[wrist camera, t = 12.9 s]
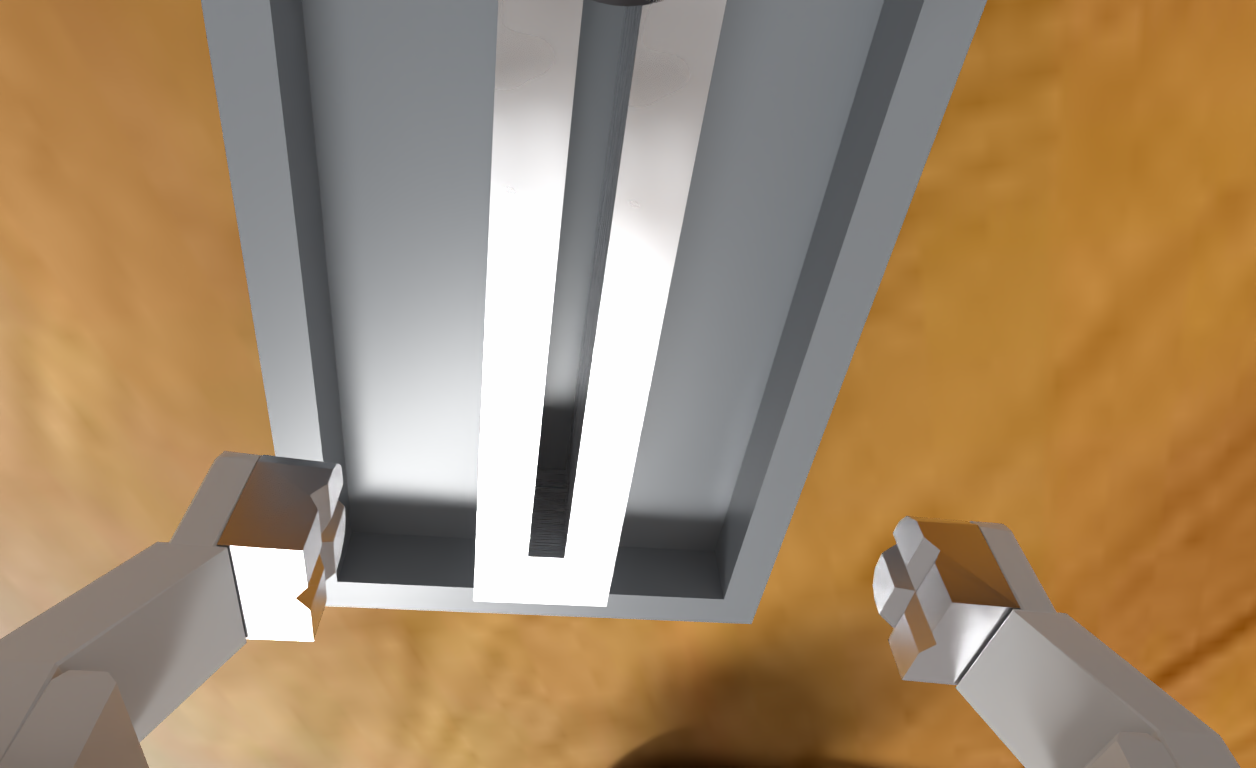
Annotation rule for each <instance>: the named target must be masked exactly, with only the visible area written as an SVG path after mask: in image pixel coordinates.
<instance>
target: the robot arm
mask: <svg viewBox="0 0 1256 768" xmlns="http://www.w3.org/2000/svg"><path fill="white" fill-rule="evenodd" d="M342 486H343V476H342V467H341V466H340V465H339V464H338V463H329V462H321V461H312V460H304V459H295V458H286V457H278V456H269V455H263V456H262V455H254V454H246V453H237V452H229V451H224V452H223V453H222V454H221V455H219V456H218V457H217V458H216V459H215V460H214V462H213V464H212V466H211V468H210V469H209V471H208V473H207V475H206V477H205V478H204V480H203V482H202V484H201V486H200V487H199V489H198V491H197V493H196V495H195V497H194V498H193V500H192V502H191V504H190V506H189V507H188V509H187V511H186V513H185V515H184V517H183V518H182V520H181V522H180V524H179V526H178V527H177V529H176V531H175V533H174V535H173V536H172V538H171V540H170V542H169V543H168V542H156V543H154V544H153V545H151V546H150V547H148V548H146V549H145V550H143V551H142V552H140V553H138V554H137V555H135V556H134V557H132V558H130V559H129V560H127V561H125V562H124V563H122V564H121V565H119V566H117V567H116V568H114V569H113V570H111V571H109V572H108V573H106V574H105V575H103V576H101V577H100V578H98V579H96V580H95V581H93V582H92V583H90V584H88V585H87V586H85V587H84V588H82V589H80V590H79V591H77V592H76V593H74V594H72V595H71V596H69V597H68V598H66V599H64V600H63V601H61V602H59V603H58V604H56V605H55V606H53V607H51V608H50V609H48V610H47V611H45V612H43V613H42V614H40V615H39V616H37V617H35V618H34V619H32V620H30V621H29V622H27V623H26V624H24V625H22V626H21V627H19V628H18V629H16V630H14V631H13V632H11V633H10V634H8V635H6V636H5V637H3V638H1V639H0V768H149V767H148V764H147V761H146V759H145V756H144V753H143V751H142V748H141V746H140V742H141V741H142V740H143V739H144V738H145V737H146V736H147V735H148V734H149V733H150V732H151V731H152V730H153V729H155V728H156V727H157V726H158V725H159V724H160V723H161V722H162V721H163V720H164V719H165V718H166V717H167V716H168V715H170V714H171V713H172V712H173V711H174V710H175V709H176V708H177V707H178V706H179V705H180V704H181V703H182V702H183V701H185V700H186V699H187V698H188V697H189V696H190V695H191V694H192V693H193V692H194V691H195V690H196V689H197V688H198V687H200V686H201V685H202V684H203V683H204V682H205V681H206V680H207V679H208V678H209V677H210V676H211V675H212V674H213V673H215V672H216V671H217V670H218V669H219V668H220V667H221V666H222V665H223V664H224V663H225V662H226V661H227V660H228V659H230V658H231V657H232V656H233V655H234V654H235V653H236V652H237V651H238V650H239V649H240V648H241V647H242V646H243V645H245V644H246V639H265V640H291V641H314V638H315V635H316V632H317V629H318V626H319V623H320V620H321V617H322V614H323V611H324V608H325V605H326V602H327V593H326V580H327V579H328V578H330V577H331V576H332V575H334V574H335V573H336V570H337V567H338V563H339V560H340V557H341V552H342V547H343V541H344V536H345V520H346V518H345V506H344V505H343V504H342V503H341V502H340V501H339V500H338V498H339V495H340V492H341V489H342ZM893 535H894V537H895V540H896V543H897V544H896V545H895V546H893V547H891V548H890V549H888V550H886V551H885V552H883V553H882V555H881V557H880V559H879V561H878V563H877V565H876V567H875V572H874V581H873V590H874V598H875V602H876V605H877V609H878V612H879V615H881V616H882V617H883V618H884V619H885V620H886V621H887V622H888V623H889V624H890V625H891V626H892V627H893V630H892V633H891V635H890V637H889V639H888V641H889V644H890V647H891V650H892V653H893V656H894V659H895V662H896V665H897V667H898V670H899V673H900V676H901V679H902V680H908V681H919V682H929V683H940V684H951V685H957V686H956V689H957V690H958V691H959V692H960V693H961V694H962V696H963V697H964V698H965V699H966V700H967V701H968V703H969V704H970V705H971V706H972V707H973V708H974V709H975V711H976V712H977V713H978V714H979V715H980V716H981V717H982V719H983V720H984V721H985V722H986V723H987V724H988V725H989V727H990V728H991V729H992V730H993V731H994V732H995V733H996V735H997V736H998V737H999V738H1000V739H1001V740H1002V741H1003V743H1004V744H1005V745H1006V746H1007V747H1008V748H1009V749H1010V751H1011V752H1012V753H1013V754H1014V755H1015V756H1016V758H1017V759H1018V760H1019V761H1020V762H1021V763H1022V764H1023V766H1024V767H1025V768H1240V766H1239V764H1238V763H1237V761H1236V760H1235V758H1234V757H1233V755H1232V754H1231V752H1230V751H1229V749H1228V747H1227V746H1226V744H1225V743H1224V741H1223V740H1222V738H1221V737H1220V735H1218V734H1217V733H1216V732H1215V731H1213V730H1212V729H1211V728H1210V727H1208V726H1207V725H1206V724H1205V723H1203V722H1202V721H1201V720H1200V719H1198V718H1197V717H1196V716H1195V715H1193V714H1192V713H1191V712H1190V711H1188V710H1187V709H1186V708H1184V707H1183V706H1182V705H1181V704H1179V703H1178V702H1177V701H1176V700H1174V699H1173V698H1172V697H1171V696H1169V695H1168V694H1167V693H1166V692H1164V691H1163V690H1162V689H1161V688H1159V687H1158V686H1157V685H1156V684H1154V683H1153V682H1152V681H1150V680H1149V679H1148V678H1147V677H1145V676H1144V675H1143V674H1142V673H1140V672H1139V671H1138V670H1137V669H1135V668H1134V667H1133V666H1132V665H1130V664H1129V663H1128V662H1127V661H1125V660H1124V659H1123V658H1122V657H1120V656H1119V655H1118V654H1116V653H1115V652H1114V651H1113V650H1111V649H1110V648H1109V647H1108V646H1106V645H1105V644H1104V643H1103V642H1101V641H1100V640H1099V639H1098V638H1096V637H1095V636H1094V635H1093V634H1091V633H1090V632H1089V631H1088V630H1086V629H1085V628H1084V627H1082V626H1081V625H1080V624H1079V623H1077V622H1076V621H1075V620H1074V619H1072V618H1071V617H1070V616H1069V615H1067V614H1065V613H1057V612H1056V611H1055V609H1054V607H1053V605H1052V603H1051V602H1050V600H1049V598H1048V596H1047V594H1046V593H1045V591H1044V589H1043V587H1042V585H1041V584H1040V582H1039V580H1038V578H1037V576H1036V575H1035V573H1034V571H1033V569H1032V567H1031V566H1030V564H1029V562H1028V560H1027V558H1026V557H1025V555H1024V553H1023V551H1022V549H1021V548H1020V546H1019V544H1018V542H1017V540H1016V539H1015V537H1014V535H1013V533H1012V531H1011V530H1010V529H1009V528H1007V527H1006V526H1005V525H1004V524H998V523H986V522H974V521H970V522H968V521H961V520H949V519H937V518H925V517H913V516H906V517H905V518H904V519H902V520H901V521H900V522H899V523H898V525H897V527H896V529H895V530H894V532H893Z"/></svg>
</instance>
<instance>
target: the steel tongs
mask: <svg viewBox="0 0 1256 768" xmlns="http://www.w3.org/2000/svg"><path fill="white" fill-rule="evenodd" d="M593 1H596V2H599V3H604V4H608V5H613V6H625V13H624V21H623V29H622V37H621V44H620V52H619V60H618V68H617V75H616V83H615V91H614V98H613V106H612V114H611V122H610V129H609V137H608V145H607V153H606V160H605V168H604V176H603V183H602V191H601V199H600V207H599V214H598V222H597V230H596V238H595V245H594V253H593V261H592V269H591V276H590V284H589V292H588V299H587V307H586V315H585V323H584V330H583V338H582V346H581V354H580V361H579V369H578V377H577V384H576V392H575V400H574V408H573V415H572V423H571V431H570V439H569V446H568V454H567V462H566V470H557V469H541V468H537V459H538V449H539V439H540V429H541V418H542V408H543V398H544V388H545V378H546V368H547V358H548V348H549V338H550V328H551V318H552V308H553V298H554V288H555V278H556V268H557V258H558V248H559V238H560V228H561V218H562V208H563V198H564V188H565V178H566V168H567V158H568V148H569V138H570V128H571V118H572V108H573V98H574V88H575V78H576V68H577V58H578V48H579V38H580V28H581V18H582V7H583V0H498V20H497V44H496V68H495V93H494V117H493V141H492V165H491V190H490V214H489V238H488V262H487V286H486V311H485V335H484V359H483V383H482V408H481V432H480V456H479V480H478V504H477V529H476V553H475V577H474V601H487V602H510V603H533V604H555V605H578V606H601V607H606V606H607V600H608V595H609V590H610V585H611V580H612V575H613V570H614V565H615V560H616V555H617V550H618V545H619V540H620V535H621V530H622V525H623V520H624V515H625V510H626V505H627V500H628V495H629V490H630V485H631V480H632V475H633V470H634V465H635V459H636V454H637V449H638V444H639V439H640V434H641V429H642V424H643V419H644V414H645V409H646V404H647V399H648V394H649V389H650V384H651V379H652V374H653V369H654V364H655V359H656V354H657V349H658V344H659V339H660V334H661V329H662V324H663V318H664V313H665V308H666V303H667V298H668V293H669V288H670V283H671V278H672V273H673V268H674V263H675V258H676V253H677V248H678V243H679V238H680V233H681V228H682V223H683V218H684V213H685V208H686V203H687V198H688V193H689V188H690V182H691V177H692V172H693V167H694V162H695V157H696V152H697V147H698V142H699V137H700V132H701V127H702V122H703V117H704V112H705V107H706V102H707V97H708V92H709V87H710V82H711V77H712V72H713V67H714V62H715V57H716V52H717V47H718V41H719V36H720V31H721V26H722V21H723V16H724V11H725V6H726V1H727V0H593Z"/></svg>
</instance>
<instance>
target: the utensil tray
mask: <svg viewBox="0 0 1256 768" xmlns="http://www.w3.org/2000/svg"><path fill="white" fill-rule="evenodd" d="M986 2H987V0H727V1H726V6H725V11H724V16H723V21H722V26H721V31H720V36H719V41H718V47H717V52H716V57H715V62H714V67H713V72H712V77H711V82H710V87H709V92H708V97H707V102H706V107H705V112H704V117H703V122H702V127H701V132H700V137H699V142H698V147H697V152H696V157H695V162H694V167H693V172H692V177H691V182H690V188H689V193H688V198H687V203H686V208H685V213H684V218H683V223H682V228H681V233H680V238H679V243H678V248H677V253H676V258H675V263H674V268H673V273H672V278H671V283H670V288H669V293H668V298H667V303H666V308H665V313H664V318H663V324H662V329H661V334H660V339H659V344H658V349H657V354H656V359H655V364H654V369H653V374H652V379H651V384H650V389H649V394H648V399H647V404H646V409H645V414H644V419H643V424H642V429H641V434H640V439H639V444H638V449H637V454H636V459H635V465H634V470H633V475H632V480H631V485H630V490H629V495H628V500H627V505H626V510H625V515H624V520H623V525H622V530H621V535H620V540H619V545H618V550H617V555H616V560H615V565H614V570H613V575H612V580H611V585H610V590H609V595H608V600H607V606H606V607H601V606H578V605H555V604H533V603H510V602H487V601H474V577H475V553H476V529H477V504H478V480H479V456H480V432H481V408H482V383H483V359H484V335H485V311H486V286H487V262H488V238H489V214H490V190H491V165H492V141H493V117H494V93H495V68H496V44H497V20H498V0H201V3H202V9H203V15H204V22H205V28H206V34H207V40H208V46H209V52H210V58H211V64H212V70H213V77H214V83H215V89H216V95H217V101H218V107H219V113H220V119H221V125H222V132H223V138H224V144H225V150H226V156H227V162H228V168H229V174H230V181H231V187H232V193H233V199H234V205H235V211H236V217H237V223H238V229H239V236H240V242H241V248H242V254H243V260H244V266H245V272H246V278H247V284H248V291H249V297H250V303H251V309H252V315H253V321H254V327H255V333H256V339H257V346H258V352H259V358H260V364H261V370H262V376H263V382H264V388H265V395H266V401H267V407H268V413H269V419H270V425H271V431H272V437H273V443H274V450H275V456H278V457H286V458H295V459H304V460H312V461H321V462H329V463H338V464H339V465H340V466H341V467H342V476H343V486H342V489H341V492H340V495H339V498H338V500H339V501H340V502H341V503H342V504H343V505H344V506H345V518H346V520H345V536H344V541H343V547H342V552H341V557H340V560H339V563H338V567H337V570H336V573H335V574H334V575H332V576H331V577H330V578H328V579H327V580H326V593H327V602H326V605H325V606H335V607H359V608H383V609H407V610H430V611H454V612H478V613H502V614H526V615H550V616H574V617H598V618H622V619H646V620H670V621H694V622H718V623H742V624H752V621H753V618H754V616H755V613H756V610H757V608H758V605H759V602H760V600H761V597H762V594H763V592H764V589H765V587H766V584H767V581H768V579H769V576H770V573H771V571H772V568H773V565H774V563H775V560H776V557H777V555H778V552H779V549H780V547H781V544H782V542H783V539H784V536H785V534H786V531H787V528H788V526H789V523H790V520H791V518H792V515H793V512H794V510H795V507H796V504H797V502H798V499H799V497H800V494H801V491H802V489H803V486H804V483H805V481H806V478H807V475H808V473H809V470H810V467H811V465H812V462H813V459H814V457H815V454H816V452H817V449H818V446H819V444H820V441H821V438H822V436H823V433H824V430H825V428H826V425H827V422H828V420H829V417H830V414H831V412H832V409H833V407H834V404H835V401H836V399H837V396H838V393H839V391H840V388H841V385H842V383H843V380H844V377H845V375H846V372H847V369H848V367H849V364H850V362H851V359H852V356H853V354H854V351H855V348H856V346H857V343H858V340H859V338H860V335H861V332H862V330H863V327H864V324H865V322H866V319H867V317H868V314H869V311H870V309H871V306H872V303H873V301H874V298H875V295H876V293H877V290H878V287H879V285H880V282H881V279H882V277H883V274H884V272H885V269H886V266H887V264H888V261H889V258H890V256H891V253H892V250H893V248H894V245H895V242H896V240H897V237H898V234H899V232H900V229H901V227H902V224H903V221H904V219H905V216H906V213H907V211H908V208H909V205H910V203H911V200H912V197H913V195H914V192H915V189H916V187H917V184H918V182H919V179H920V176H921V174H922V171H923V168H924V166H925V163H926V160H927V158H928V155H929V152H930V150H931V147H932V144H933V142H934V139H935V137H936V134H937V131H938V129H939V126H940V123H941V121H942V118H943V115H944V113H945V110H946V107H947V105H948V102H949V99H950V97H951V94H952V92H953V89H954V86H955V84H956V81H957V78H958V76H959V73H960V70H961V68H962V65H963V62H964V60H965V57H966V54H967V52H968V49H969V47H970V44H971V41H972V39H973V36H974V33H975V31H976V28H977V25H978V23H979V20H980V17H981V15H982V12H983V9H984V7H985V4H986ZM624 13H625V6H613V5H608V4H604V3H599V2H596V1H593V0H583V7H582V18H581V28H580V38H579V48H578V58H577V68H576V78H575V88H574V98H573V108H572V118H571V128H570V138H569V148H568V158H567V168H566V178H565V188H564V198H563V208H562V218H561V228H560V238H559V248H558V258H557V268H556V278H555V288H554V298H553V308H552V318H551V328H550V338H549V348H548V358H547V368H546V378H545V388H544V398H543V408H542V418H541V429H540V439H539V449H538V459H537V468H541V469H557V470H566V462H567V454H568V446H569V439H570V431H571V423H572V415H573V408H574V400H575V392H576V384H577V377H578V369H579V361H580V354H581V346H582V338H583V330H584V323H585V315H586V307H587V299H588V292H589V284H590V276H591V269H592V261H593V253H594V245H595V238H596V230H597V222H598V214H599V207H600V199H601V191H602V183H603V176H604V168H605V160H606V153H607V145H608V137H609V129H610V122H611V114H612V106H613V98H614V91H615V83H616V75H617V68H618V60H619V52H620V44H621V37H622V29H623V21H624Z"/></svg>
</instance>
